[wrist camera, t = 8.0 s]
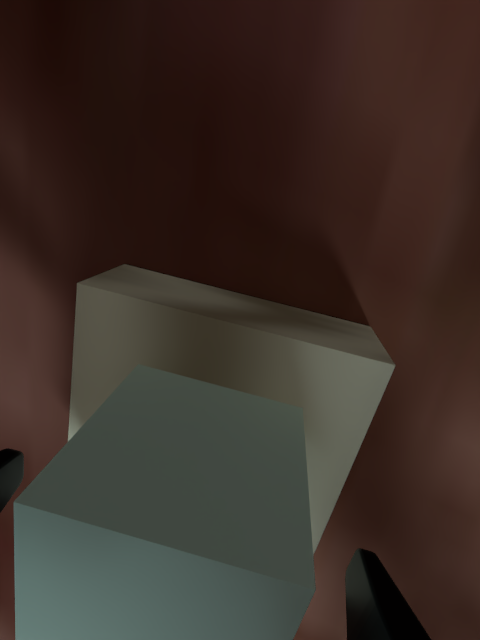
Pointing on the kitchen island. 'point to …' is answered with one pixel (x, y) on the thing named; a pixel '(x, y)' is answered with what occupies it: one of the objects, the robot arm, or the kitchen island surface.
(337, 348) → the plinth
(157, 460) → the block
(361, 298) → the kitchen island surface
